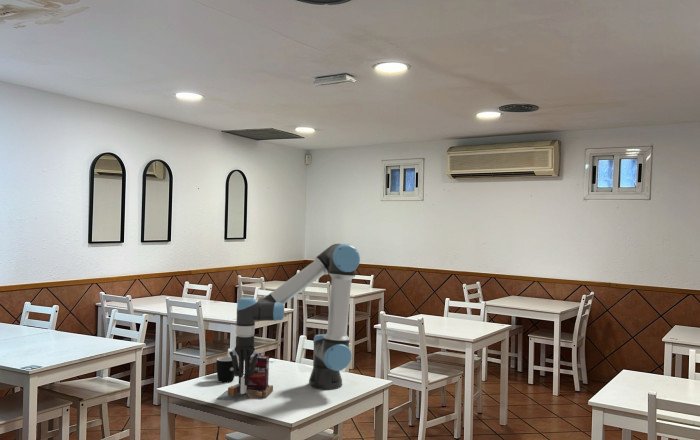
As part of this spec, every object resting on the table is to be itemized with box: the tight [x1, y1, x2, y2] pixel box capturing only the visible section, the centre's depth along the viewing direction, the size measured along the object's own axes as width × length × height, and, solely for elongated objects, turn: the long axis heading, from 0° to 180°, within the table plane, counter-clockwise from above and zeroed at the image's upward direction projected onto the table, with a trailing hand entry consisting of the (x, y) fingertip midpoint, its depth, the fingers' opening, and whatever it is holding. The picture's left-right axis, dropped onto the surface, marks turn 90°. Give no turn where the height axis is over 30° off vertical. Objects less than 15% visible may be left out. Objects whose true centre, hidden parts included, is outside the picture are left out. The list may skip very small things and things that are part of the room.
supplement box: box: [245, 354, 270, 396], centre depth 242 cm, size 9×5×16 cm, turn 85°
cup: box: [227, 347, 245, 377], centre depth 275 cm, size 9×9×12 cm
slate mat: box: [216, 389, 243, 401], centre depth 238 cm, size 8×12×1 cm, turn 173°
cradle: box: [248, 384, 274, 399], centre depth 243 cm, size 12×15×2 cm
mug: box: [216, 356, 235, 384], centre depth 263 cm, size 12×9×10 cm
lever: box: [227, 383, 241, 396], centre depth 242 cm, size 3×19×5 cm, turn 159°
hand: (243, 392), depth 233 cm, fingers closed
